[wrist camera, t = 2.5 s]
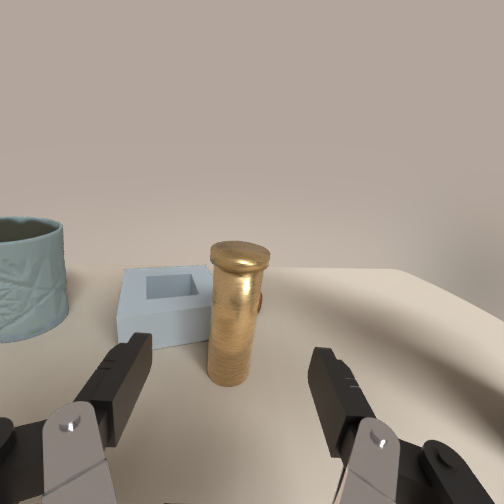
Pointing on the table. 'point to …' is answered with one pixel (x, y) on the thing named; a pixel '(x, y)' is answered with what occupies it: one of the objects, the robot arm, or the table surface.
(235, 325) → the brass flanged cylinder
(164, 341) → the frame
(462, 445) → the table surface
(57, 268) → the teal plant pot
